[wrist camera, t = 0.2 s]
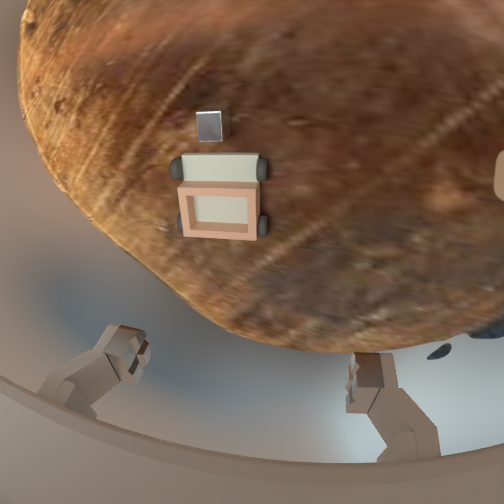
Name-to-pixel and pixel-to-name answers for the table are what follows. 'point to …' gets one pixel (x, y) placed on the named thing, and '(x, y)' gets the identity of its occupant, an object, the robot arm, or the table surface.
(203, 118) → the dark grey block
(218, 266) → the table surface
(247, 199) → the chassis
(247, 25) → the table surface
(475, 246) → the table surface
